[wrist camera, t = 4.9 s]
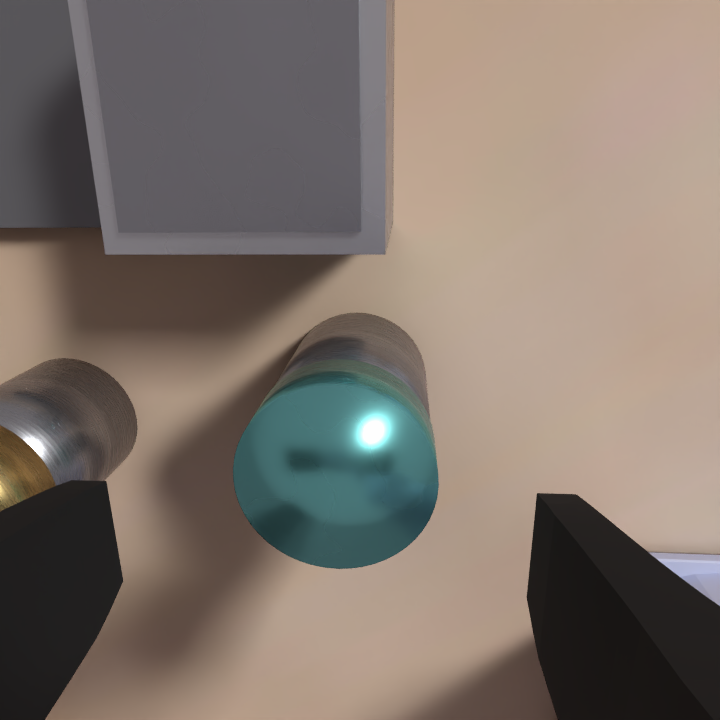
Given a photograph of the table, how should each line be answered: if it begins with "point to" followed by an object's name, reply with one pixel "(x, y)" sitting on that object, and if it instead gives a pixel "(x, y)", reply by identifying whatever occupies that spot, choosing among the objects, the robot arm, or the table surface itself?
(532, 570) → the robot arm
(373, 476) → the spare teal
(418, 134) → the table surface
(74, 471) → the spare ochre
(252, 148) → the control box
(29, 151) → the pad
